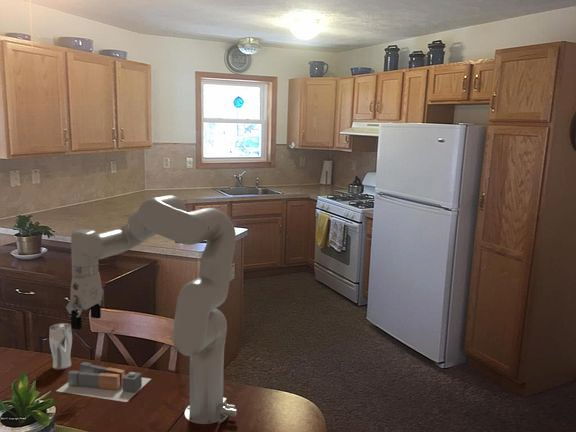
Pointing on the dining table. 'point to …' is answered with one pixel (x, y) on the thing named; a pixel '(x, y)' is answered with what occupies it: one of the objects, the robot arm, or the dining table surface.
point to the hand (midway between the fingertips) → (86, 323)
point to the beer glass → (61, 345)
